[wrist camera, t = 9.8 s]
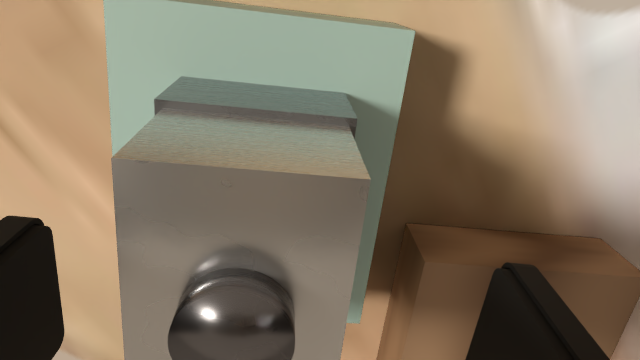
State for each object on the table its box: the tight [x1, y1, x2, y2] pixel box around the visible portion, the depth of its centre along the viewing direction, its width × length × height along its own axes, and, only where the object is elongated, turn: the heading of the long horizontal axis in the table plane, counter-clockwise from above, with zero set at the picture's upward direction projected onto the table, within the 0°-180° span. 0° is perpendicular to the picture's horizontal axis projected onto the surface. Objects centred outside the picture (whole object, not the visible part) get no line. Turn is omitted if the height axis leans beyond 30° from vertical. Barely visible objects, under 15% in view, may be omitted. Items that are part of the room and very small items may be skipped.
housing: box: [111, 76, 371, 360], centre depth 12 cm, size 5×7×7 cm
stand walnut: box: [377, 223, 640, 360], centre depth 21 cm, size 9×11×3 cm
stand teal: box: [103, 0, 415, 323], centre depth 17 cm, size 9×11×3 cm
